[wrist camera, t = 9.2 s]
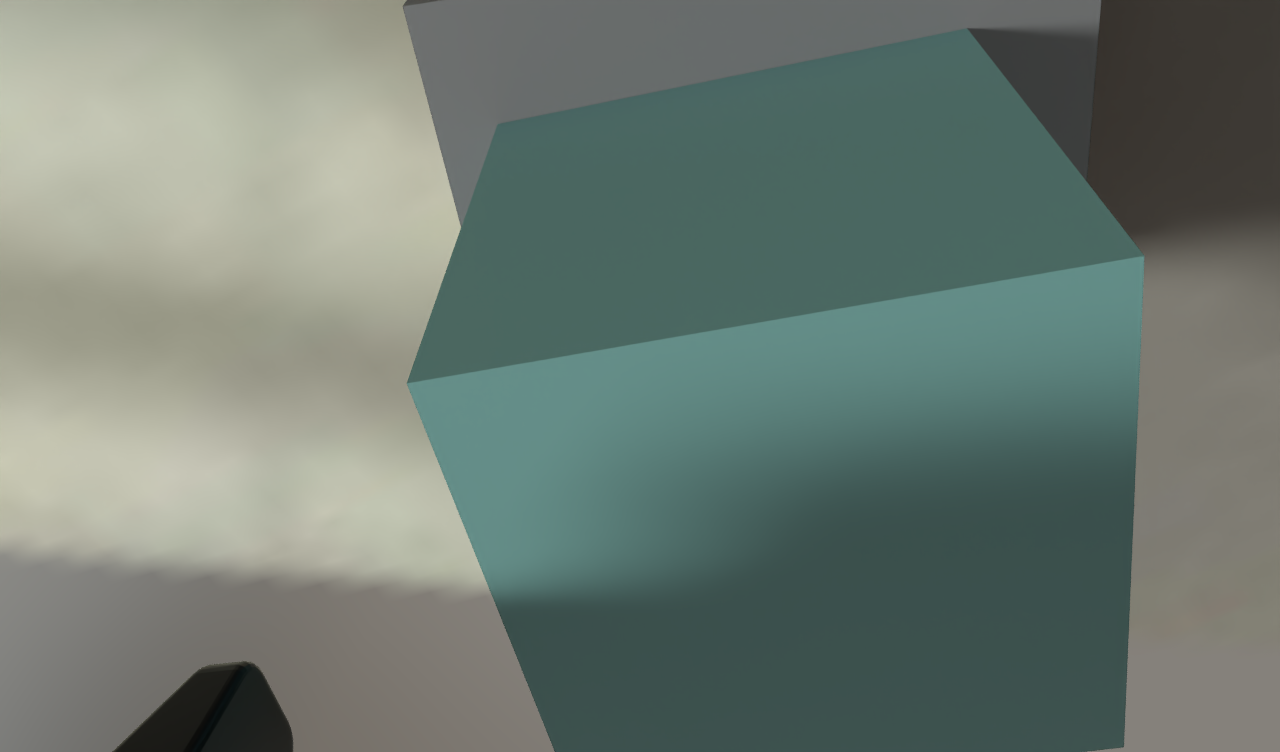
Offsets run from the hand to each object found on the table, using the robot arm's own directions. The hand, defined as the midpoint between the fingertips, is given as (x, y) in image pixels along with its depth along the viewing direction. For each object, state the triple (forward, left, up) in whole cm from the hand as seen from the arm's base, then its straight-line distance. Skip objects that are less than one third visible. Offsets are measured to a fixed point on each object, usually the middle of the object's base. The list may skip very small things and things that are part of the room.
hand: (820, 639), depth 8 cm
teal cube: (0, 0, -5) cm, 5 cm away
